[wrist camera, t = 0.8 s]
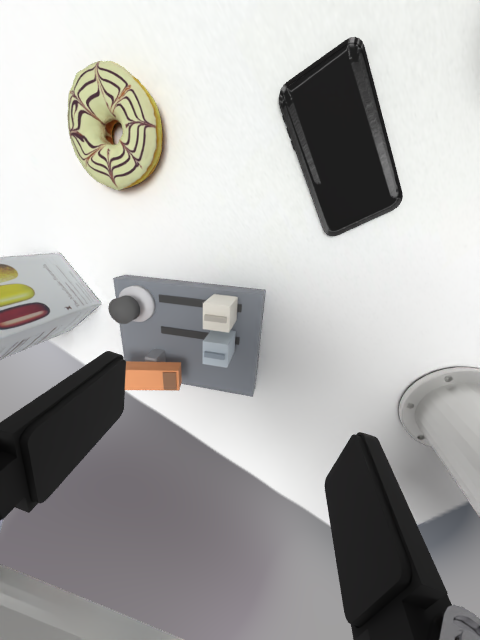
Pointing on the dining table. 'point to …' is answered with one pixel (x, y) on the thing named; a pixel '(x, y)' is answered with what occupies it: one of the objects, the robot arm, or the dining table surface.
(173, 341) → the console
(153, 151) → the decorated donut
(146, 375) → the rocker switch
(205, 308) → the ivory knob
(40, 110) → the dining table surface
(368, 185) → the phone
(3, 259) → the supplement box
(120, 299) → the push button
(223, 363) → the slate knob
